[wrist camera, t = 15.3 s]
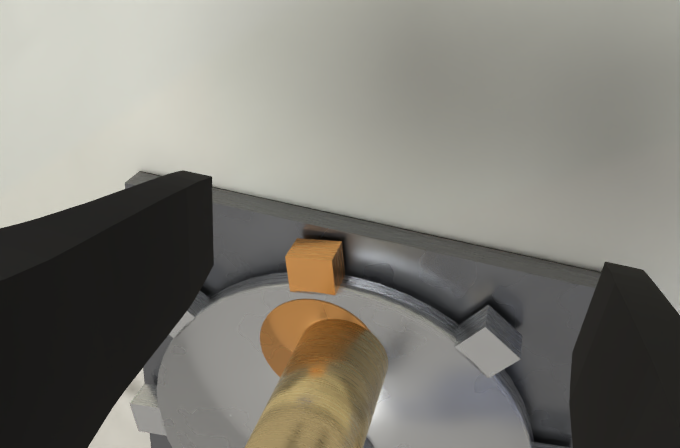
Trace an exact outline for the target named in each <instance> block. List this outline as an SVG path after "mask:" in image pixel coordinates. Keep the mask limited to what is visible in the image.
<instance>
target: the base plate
mask: <svg viewBox="0 0 680 448" xmlns="http://www.w3.org/2000/svg"><path fill="white" fill-rule="evenodd" d="M158 177H161V176H158V175H154V174H149V173H145V172H140V171H139V172H138V173H137V174H136V175H134V176H133V177H132V178H130V179H129V180H128V181H127V182H125V189H127V188H130V187H132V186H135V185H138V184H141V183H143V182H146V181H149V180H152V179H155V178H158ZM212 201H213V251H214V266H213V268H212V269H211V271H210V273H209V275H208V277H207V279H206V280H205V282H204V284H203V286H202V288H201V289H200V291H201V292H202V293H204V294H205V295H206V296H207V297H208V298H210V297H211V296H213V295H215V294H216V293H218V292H220V291H222V290H223V289H225V288H227V287H229V286H231V285H234V284H236V283H239V282H241V281H244V280H247V279H249V278H254V277H258V276H263V275H267V274H272V273H282V272H287V267H286V260H285V256H286V254H287V253H288V251H289V250H290V248H291V247H292V245H293V244H294V242H295V240H296V239H297V238H302V239H315V240H329V241H342V247H343V258H344V269H345V275H347V276H352V277H356V278H360V279H364V280H368V281H372V282H376V283H379V284H382V285H384V286H387V287H390V288H392V289H395V290H398V291H400V292H403V293H406V294H408V295H410V296H412V297H414V298H416V299H418V300H420V301H422V302H424V303H426V304H428V305H430V306H432V307H433V308H435V309H436V310H438V311H439V312H441V313H443V314H444V315H446V316H447V317H449V318H450V319H452V320H454V321H455V322H456V323H458V324H460V323H462V322H463V321H465V320H466V319H468V318H469V317H471V316H472V315H474V314H475V313H477V312H478V311H480V310H481V309H483V308H484V307H485V306H487V305H490V306H491V307H492V308H493V309H494V310H495V311H496V312H497V313H498V314H499V315H500V316H502V317H503V318H504V319H505V320H506V321H507V322H508V323H509V324H510V325H511V326H512V327H514V328H515V329H516V330H517V331H518V332H519V333H520V334H521V335H522V346H521V359H520V360H518V361H517V362H515V363H513V364H512V365H510V366H508V367H507V368H505V369H504V370H505V371H506V372H507V374H508V375H509V376H510V378H511V379H512V381H513V383H514V385H515V386H516V388H517V390H518V392H519V394H520V395H521V397H522V399H523V402H524V405H525V407H526V410H527V412H528V415H529V418H530V422H531V427H532V432H533V437H534V442H536V443H543V444H550V445H557V446H563V447H570V448H573V445H572V433H571V420H570V406H569V398H570V378H571V363H572V352H573V349H574V346H575V343H576V341H577V338H578V335H579V332H580V330H581V327H582V324H583V321H584V319H585V316H586V313H587V310H588V308H589V305H590V302H591V299H592V297H593V294H594V291H595V289H596V286H597V283H598V280H599V278H600V275H601V272H596V271H592V270H587V269H582V268H578V267H573V266H569V265H564V264H560V263H555V262H551V261H546V260H541V259H537V258H532V257H528V256H523V255H519V254H514V253H510V252H505V251H500V250H496V249H491V248H487V247H482V246H478V245H473V244H468V243H464V242H459V241H455V240H450V239H446V238H441V237H437V236H432V235H427V234H423V233H418V232H414V231H409V230H405V229H400V228H396V227H391V226H386V225H382V224H377V223H373V222H368V221H364V220H359V219H354V218H350V217H345V216H341V215H336V214H332V213H327V212H323V211H318V210H313V209H309V208H304V207H300V206H295V205H291V204H286V203H282V202H277V201H272V200H268V199H263V198H259V197H254V196H250V195H245V194H240V193H236V192H231V191H227V190H222V189H218V188H213V187H212ZM172 340H173V337H172V336H170V335H168V336H167V338H166V339H165V340H164V341H163V343H162V344H161V345H160V346H159V348H158V349H157V350H156V351H155V353H154V354H153V355H152V357H151V358H150V359H149V360H148V362H147V363H146V364H145V365H144V367H143V370H144V380H145V384H149V385H156V386H157V381H158V372H159V369H160V365H161V362H162V359H163V356H164V354H165V352H166V350H167V348H168V347H169V345H170V343H171V341H172ZM150 440H151V448H172V446H171V444H170V443H169V441H168V439H167V436H165V435H159V434H153V433H150Z"/></svg>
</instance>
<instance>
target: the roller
mask: <svg viewBox="0 0 680 448" xmlns="http://www.w3.org/2000/svg"><path fill="white" fill-rule="evenodd" d="M387 369H388V357H387V353H386V351H385V349H384V347H383V345H382V344H381V342H380V341H379V340H378V339H377V338H376V337H375V335H373V334H372V333H371V332H370V331H369V330H367V329H365V328H364V327H362V326H360V325H358V324H356V323H353V322H350V321H347V320H341V319H326V320H321V321H318V322H316V323H313V324H312V325H310V326H309V327H308V328H307V329H306V330H305V331H304V332H303V334H302V336H301V338H300V340H299V342H298V344H297V346H296V348H295V350H294V352H293V354H292V356H291V358H290V360H289V362H288V363H287V365H286V367H285V369H284V371H283V373H282V375H281V377H280V379H279V381H278V383H277V385H276V387H275V389H274V391H273V393H272V395H271V397H270V399H269V401H268V403H267V405H266V407H265V409H264V411H263V413H262V414H261V416H260V418H259V420H258V422H257V424H256V426H255V428H254V430H253V432H252V434H251V436H250V438H249V440H248V442H247V444H246V446H245V448H363V446H364V443H365V440H366V437H367V433H368V430H369V427H370V424H371V421H372V418H373V414H374V411H375V408H376V405H377V402H378V398H379V395H380V392H381V389H382V386H383V383H384V379H385V376H386V373H387Z"/></svg>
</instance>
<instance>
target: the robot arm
mask: <svg viewBox="0 0 680 448" xmlns="http://www.w3.org/2000/svg"><path fill="white" fill-rule="evenodd" d="M213 266H214V251H213V201H212V177H211V176H206V175H202V174H197V173H192V172H188V171H178V172H174V173H171V174H167V175H164V176H161V177H158V178H155V179H152V180H149V181H146V182H143V183H141V184H138V185H135V186H132V187H130V188H127V189H124V190H121V191H118V192H116V193H113V194H110V195H107V196H105V197H102V198H99V199H96V200H93V201H91V202H88V203H85V204H82V205H78V206H75V207H72V208H69V209H66V210H63V211H60V212H57V213H54V214H50V215H47V216H44V217H41V218H38V219H34V220H31V221H27V222H24V223H20V224H16V225H12V226H9V227H4V228H0V448H88V446H89V444H90V443H91V441H92V440H93V438H94V436H95V435H96V433H97V432H98V430H99V428H100V427H101V425H102V424H103V422H104V420H105V419H106V417H107V416H108V414H109V412H110V411H111V409H112V408H113V406H114V405H115V404H116V402H117V401H118V399H119V398H120V397H121V395H122V394H123V392H124V391H125V390H126V388H127V387H128V386H129V384H130V383H131V382H132V381H133V379H134V378H135V377H136V376H137V374H138V373H139V372H140V370H141V369H142V368H143V367H144V365H145V364H146V363H147V362H148V360H149V359H150V358H151V357H152V355H153V354H154V353H155V351H156V350H157V349H158V348H159V346H160V345H161V344H162V343H163V341H164V340H165V339H166V338H167V336H168V335H169V334H170V332H171V331H172V330H173V328H174V327H175V326H176V325H177V323H178V322H179V321H180V319H181V318H182V317H183V316H184V314H185V313H186V312H187V310H188V309H189V308H190V306H191V305H192V303H193V301H194V300H195V298H196V296H197V295H198V293H199V291H200V289H201V288H202V286H203V284H204V282H205V280H206V279H207V277H208V275H209V273H210V271H211V269H212V268H213ZM569 406H570V420H571V433H572V445H573V448H680V315H679V314H678V312H677V311H676V310H675V309H674V307H673V306H672V305H671V304H670V302H669V301H668V300H667V299H666V297H665V296H664V295H663V293H662V292H661V291H660V290H659V288H658V287H657V286H656V285H655V283H654V282H653V281H652V280H651V278H650V277H649V276H648V275H647V274H646V273H645V271H644V270H641V269H637V268H632V267H627V266H623V265H618V264H613V263H609V262H605V264H604V267H603V269H602V272H601V275H600V278H599V280H598V283H597V286H596V289H595V291H594V294H593V297H592V299H591V302H590V305H589V308H588V310H587V313H586V316H585V319H584V321H583V324H582V327H581V330H580V332H579V335H578V338H577V341H576V343H575V346H574V349H573V352H572V363H571V378H570V398H569Z"/></svg>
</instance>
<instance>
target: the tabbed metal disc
mask: <svg viewBox="0 0 680 448" xmlns="http://www.w3.org/2000/svg"><path fill="white" fill-rule="evenodd" d="M285 260H286V267H287V272H282V273H272V274H267V275H263V276H258V277H254V278H249V279H247V280H244V281H241V282H239V283H236V284H234V285H231V286H229V287H227V288H225V289H223V290H222V291H220V292H218V293H216V294H215V295H213V296H211V297H210V298H208V297H207V296H206V295H205V294H204V293H202V292H201V291H199V293H198V295H197V296H196V298H195V300H194V301H193V303H192V305H191V306H190V308H189V309H188V310H187V312H186V313H185V314H184V316H183V317H182V318H181V319H180V321H179V322H178V323H177V325H176V326H175V327H174V328H173V330H172V331H171V332H170V334H169V335H170V336H172V337H173V340H172V341H171V343H170V345H169V347H168V348H167V350H166V352H165V354H164V356H163V359H162V362H161V365H160V369H159V372H158V381H157V386H156V385H149V384H144V385H143V387H142V388H141V389H140V391H139V392H138V393H137V395H136V396H135V397H134V399H133V400H132V401H131V403H130V406H131V409H132V412H133V415H134V418H135V421H136V424H137V428H138V431H142V432H148V433H153V434H159V435H165V436H167V439H168V441H169V443H170V444H171V446H172V448H245V446H246V444H247V442H248V440H249V438H250V436H251V434H252V432H253V430H254V428H255V426H256V424H257V422H258V420H259V418H260V416H261V414H262V413H263V411H264V409H265V407H266V405H267V403H268V401H269V399H270V397H271V395H272V393H273V391H274V389H275V387H276V385H277V383H278V381H279V379H280V377H281V375H282V373H283V371H284V369H285V367H286V365H287V363H288V362H289V360H290V358H291V356H292V354H293V352H294V350H295V348H296V346H297V344H298V342H299V340H300V338H301V336H302V334H303V332H304V331H305V330H306V329H307V328H308V327H309V326H310V325H312V324H313V323H316V322H318V321H321V320H326V319H341V320H347V321H350V322H353V323H356V324H358V325H360V326H362V327H364V328H365V329H367V330H369V331H370V332H371V333H372V334H373V335H375V337H376V338H377V339H378V340H379V341H380V342H381V344H382V345H383V347H384V349H385V351H386V353H387V357H388V369H387V373H386V376H385V379H384V383H383V386H382V389H381V392H380V395H379V398H378V402H377V405H376V408H375V411H374V414H373V418H372V421H371V424H370V427H369V430H368V433H367V437H366V440H365V443H364V446H363V448H570V447H563V446H557V445H550V444H543V443H536V442H534V437H533V432H532V427H531V422H530V418H529V415H528V412H527V410H526V407H525V405H524V402H523V399H522V397H521V395H520V394H519V392H518V390H517V388H516V386H515V385H514V383H513V381H512V379H511V378H510V376H509V375H508V374H507V372H506V371H505V370H504V369H505V368H507V367H508V366H510V365H512V364H513V363H515V362H517V361H518V360H520V359H521V346H522V335H521V334H520V333H519V332H518V331H517V330H516V329H515V328H514V327H512V326H511V325H510V324H509V323H508V322H507V321H506V320H505V319H504V318H503V317H502V316H500V315H499V314H498V313H497V312H496V311H495V310H494V309H493V308H492V307H491V306H490V305H487V306H485V307H484V308H483V309H481V310H480V311H478V312H477V313H475V314H474V315H472V316H471V317H469V318H468V319H466V320H465V321H463V322H462V323H460V324H458V323H456V322H455V321H454V320H452V319H450V318H449V317H447V316H446V315H444V314H443V313H441V312H439V311H438V310H436V309H435V308H433V307H432V306H430V305H428V304H426V303H424V302H422V301H420V300H418V299H416V298H414V297H412V296H410V295H408V294H406V293H403V292H400V291H398V290H395V289H392V288H390V287H387V286H384V285H382V284H379V283H376V282H372V281H368V280H364V279H360V278H356V277H352V276H347V275H345V269H344V258H343V247H342V241H329V240H315V239H302V238H297V239H296V240H295V242H294V244H293V245H292V247H291V248H290V250H289V251H288V253H287V254H286V256H285Z"/></svg>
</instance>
